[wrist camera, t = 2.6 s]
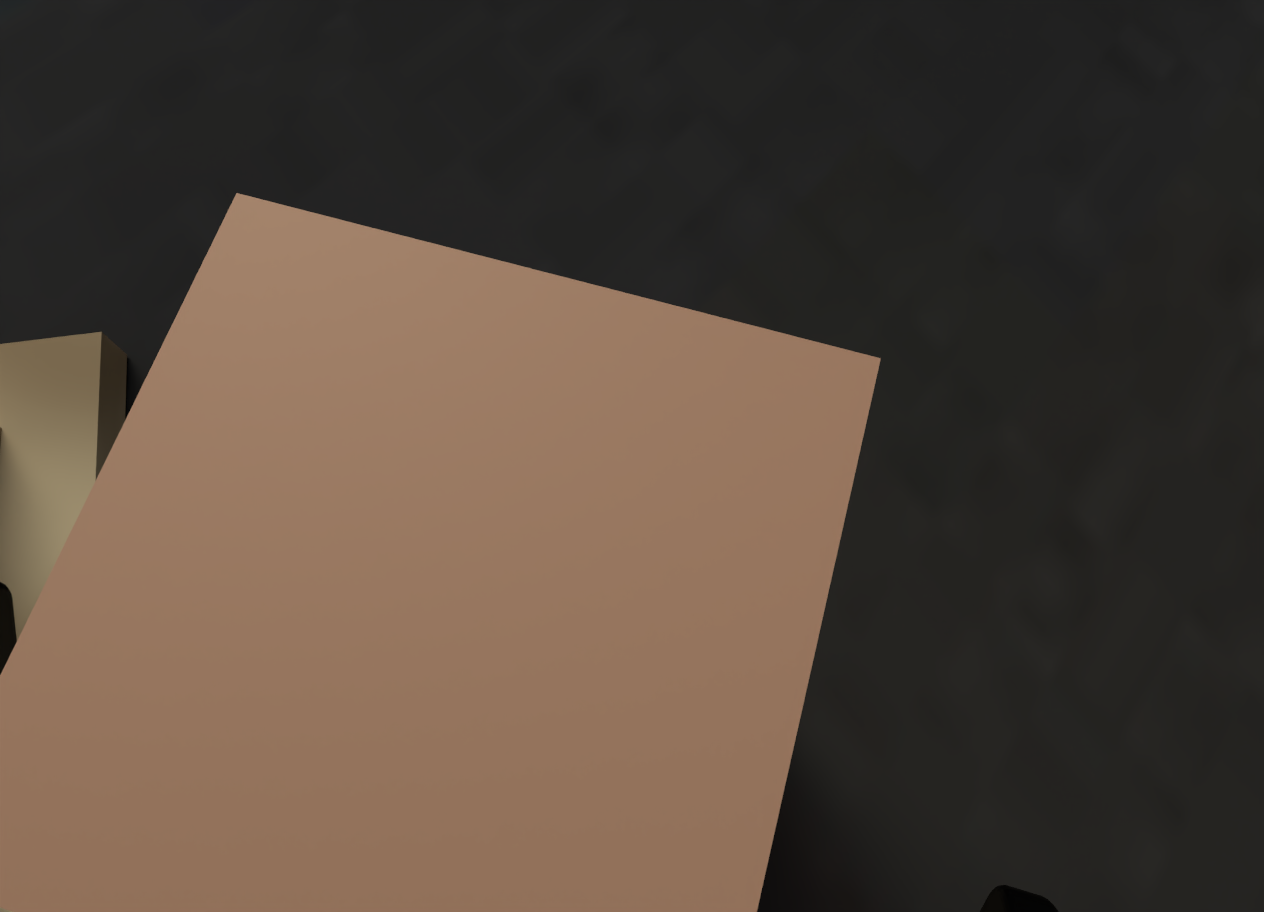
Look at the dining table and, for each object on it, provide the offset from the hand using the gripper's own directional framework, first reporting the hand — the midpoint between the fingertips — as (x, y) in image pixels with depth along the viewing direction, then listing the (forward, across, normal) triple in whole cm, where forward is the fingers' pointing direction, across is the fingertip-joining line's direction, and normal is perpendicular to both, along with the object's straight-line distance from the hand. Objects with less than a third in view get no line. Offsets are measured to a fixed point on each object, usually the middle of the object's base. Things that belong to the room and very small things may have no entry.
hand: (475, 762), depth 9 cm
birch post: (+7, 0, +6) cm, 9 cm away
